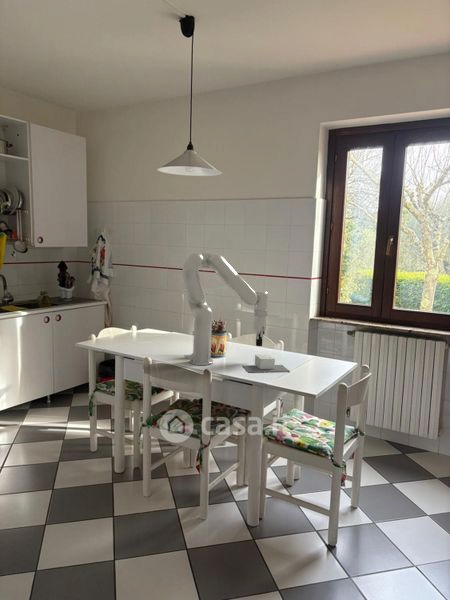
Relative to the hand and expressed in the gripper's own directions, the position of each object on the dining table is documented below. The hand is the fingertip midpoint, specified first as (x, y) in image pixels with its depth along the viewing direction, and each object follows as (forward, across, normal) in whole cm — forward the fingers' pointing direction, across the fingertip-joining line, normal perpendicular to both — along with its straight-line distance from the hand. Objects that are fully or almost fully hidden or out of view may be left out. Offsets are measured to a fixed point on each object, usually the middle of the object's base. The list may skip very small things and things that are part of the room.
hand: (258, 345), depth 249 cm
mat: (+9, +15, 0) cm, 18 cm away
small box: (+6, +6, 0) cm, 9 cm away
